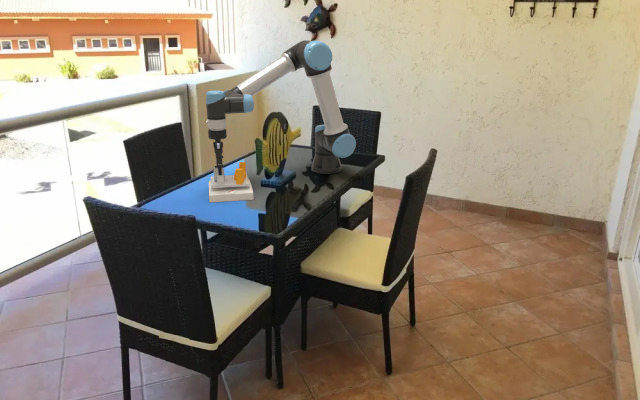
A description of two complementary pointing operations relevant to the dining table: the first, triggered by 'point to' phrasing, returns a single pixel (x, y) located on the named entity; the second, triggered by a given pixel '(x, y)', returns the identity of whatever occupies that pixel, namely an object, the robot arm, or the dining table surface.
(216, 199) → the scale
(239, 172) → the pipe clamp
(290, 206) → the dining table surface
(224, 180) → the block
